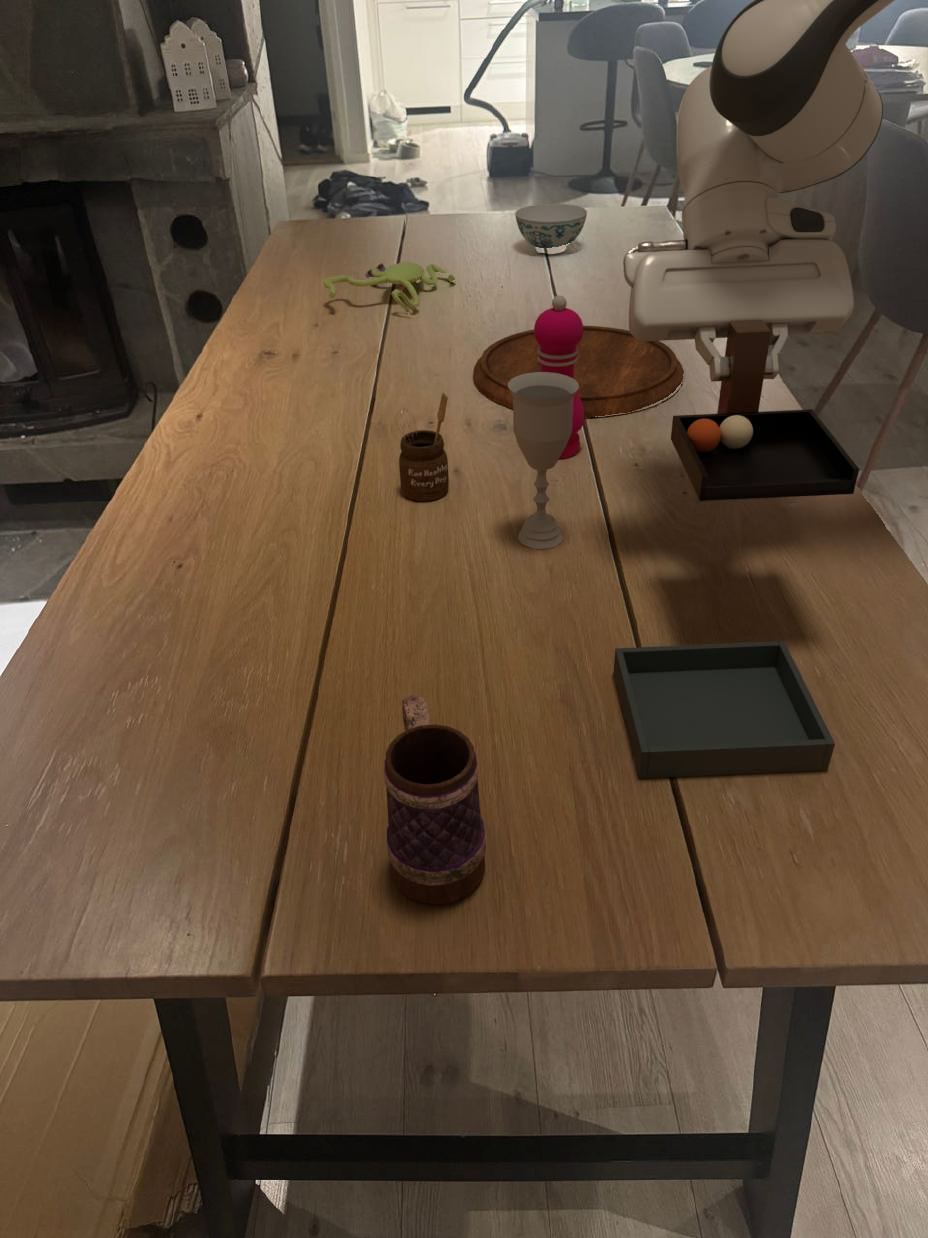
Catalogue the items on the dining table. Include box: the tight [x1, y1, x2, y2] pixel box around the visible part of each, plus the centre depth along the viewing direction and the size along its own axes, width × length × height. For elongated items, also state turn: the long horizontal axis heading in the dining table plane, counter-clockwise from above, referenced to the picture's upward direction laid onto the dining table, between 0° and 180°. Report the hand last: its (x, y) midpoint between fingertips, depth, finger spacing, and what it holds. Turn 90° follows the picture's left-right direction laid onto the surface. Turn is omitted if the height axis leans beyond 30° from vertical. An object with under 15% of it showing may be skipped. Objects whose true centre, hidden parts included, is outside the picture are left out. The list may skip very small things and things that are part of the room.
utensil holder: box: [394, 391, 450, 502], centre depth 111 cm, size 6×6×12 cm
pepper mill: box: [533, 294, 585, 460], centre depth 116 cm, size 7×7×20 cm
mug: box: [383, 694, 487, 905], centre depth 66 cm, size 10×7×12 cm
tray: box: [612, 640, 836, 780], centre depth 79 cm, size 15×13×3 cm
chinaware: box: [514, 203, 588, 248], centre depth 196 cm, size 15×15×8 cm
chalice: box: [508, 372, 579, 550], centre depth 99 cm, size 7×7×18 cm
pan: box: [670, 320, 860, 502], centre depth 81 cm, size 13×15×10 cm
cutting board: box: [472, 325, 685, 419], centre depth 142 cm, size 32×32×3 cm
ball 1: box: [687, 419, 721, 452], centre depth 83 cm, size 3×3×3 cm
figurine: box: [323, 262, 456, 313], centre depth 175 cm, size 18×27×6 cm
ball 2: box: [719, 415, 753, 449], centre depth 84 cm, size 3×3×3 cm
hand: (745, 377), depth 85 cm, fingers closed on pan, 3 cm apart
